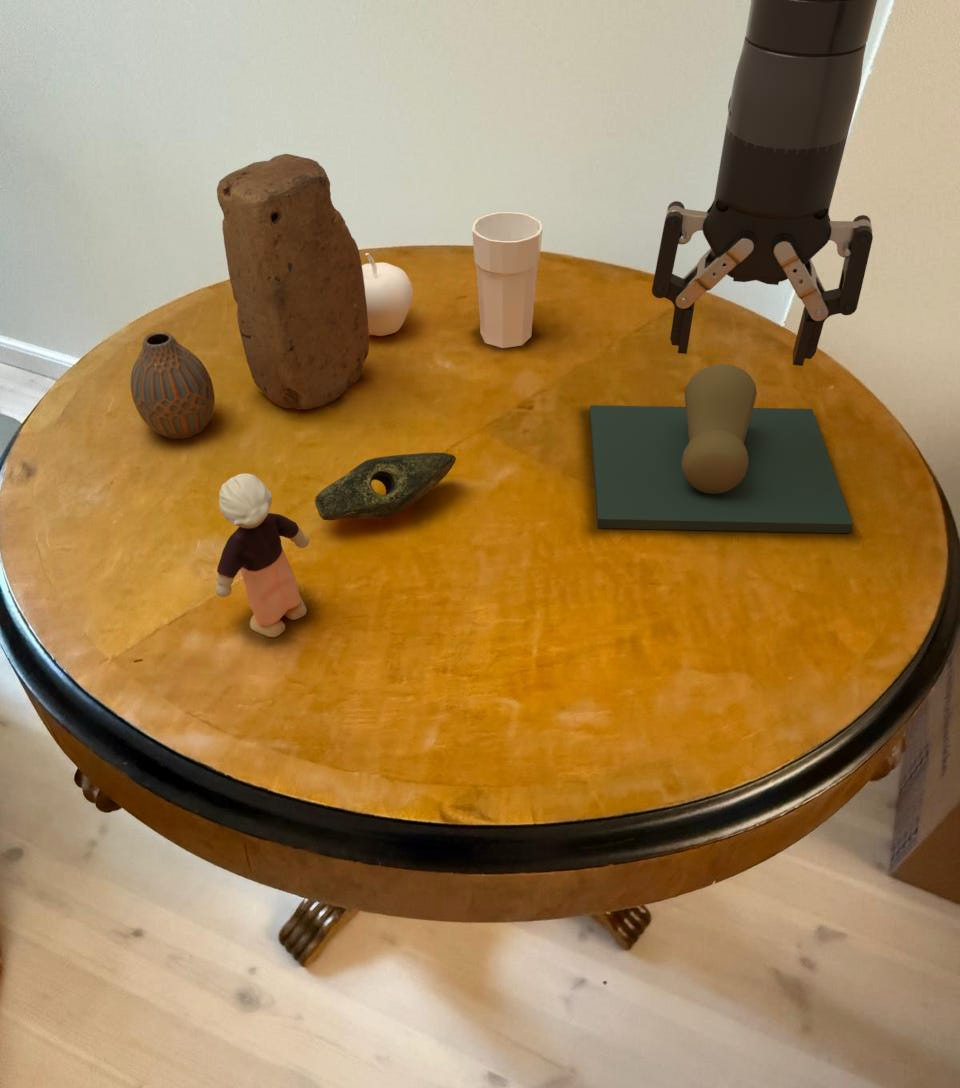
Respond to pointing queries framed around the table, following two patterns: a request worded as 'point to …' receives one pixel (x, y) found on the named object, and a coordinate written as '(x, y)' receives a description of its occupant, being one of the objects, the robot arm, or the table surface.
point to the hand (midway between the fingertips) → (739, 354)
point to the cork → (717, 427)
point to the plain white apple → (386, 297)
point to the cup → (506, 275)
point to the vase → (171, 388)
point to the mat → (673, 504)
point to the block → (294, 281)
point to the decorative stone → (400, 478)
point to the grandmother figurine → (259, 554)
